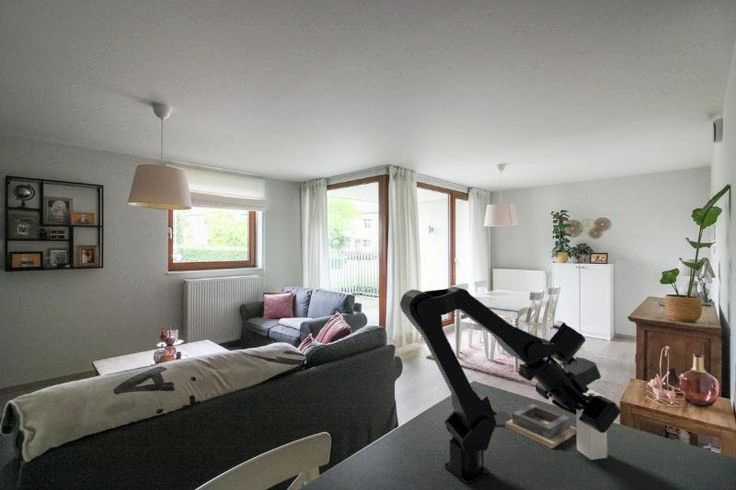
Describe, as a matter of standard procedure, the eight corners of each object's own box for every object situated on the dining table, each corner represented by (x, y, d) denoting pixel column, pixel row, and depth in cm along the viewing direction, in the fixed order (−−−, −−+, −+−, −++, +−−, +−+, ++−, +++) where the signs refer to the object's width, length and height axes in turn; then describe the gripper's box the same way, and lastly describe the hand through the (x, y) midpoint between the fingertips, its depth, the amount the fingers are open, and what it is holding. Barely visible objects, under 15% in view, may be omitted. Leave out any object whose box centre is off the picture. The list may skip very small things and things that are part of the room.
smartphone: (452, 411, 97) (507, 410, 97) (452, 414, 97) (507, 414, 97) (458, 424, 90) (517, 424, 90) (458, 428, 90) (518, 427, 90)
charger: (591, 459, 75) (590, 398, 75) (576, 449, 79) (576, 390, 79) (607, 457, 76) (606, 396, 76) (592, 447, 80) (591, 389, 80)
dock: (552, 448, 80) (552, 432, 80) (505, 426, 90) (505, 412, 90) (577, 432, 86) (577, 418, 86) (531, 413, 96) (531, 400, 96)
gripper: (612, 362, 68) (660, 414, 70) (546, 337, 86) (585, 379, 88) (576, 406, 66) (626, 458, 68) (517, 372, 85) (558, 414, 87)
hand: (596, 422), depth 78 cm, fingers closed on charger, 4 cm apart
